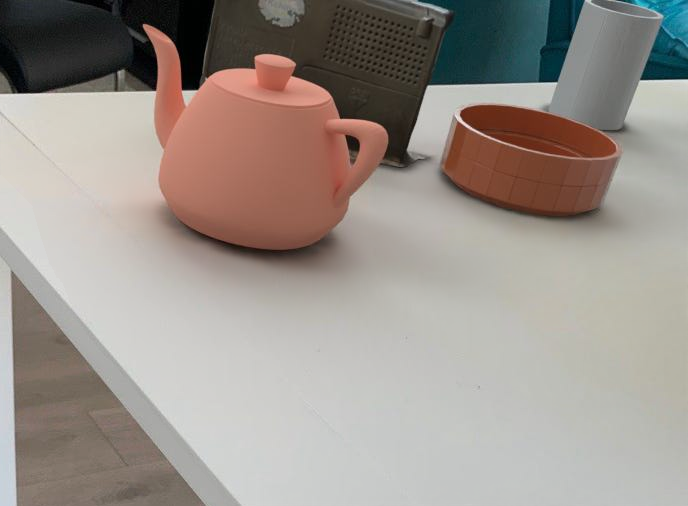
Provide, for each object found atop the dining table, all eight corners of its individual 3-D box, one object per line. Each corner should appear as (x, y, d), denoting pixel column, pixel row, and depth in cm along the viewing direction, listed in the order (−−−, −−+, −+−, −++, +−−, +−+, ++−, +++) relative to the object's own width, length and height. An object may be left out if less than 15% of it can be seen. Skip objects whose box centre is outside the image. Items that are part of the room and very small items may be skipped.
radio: (426, 158, 105) (471, -9, 95) (411, 181, 98) (457, 4, 89) (214, 104, 108) (236, -62, 99) (185, 123, 102) (206, -53, 92)
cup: (534, 109, 127) (570, -2, 119) (574, 103, 132) (610, -3, 124) (596, 133, 122) (638, 19, 114) (635, 126, 127) (677, 17, 119)
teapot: (77, 199, 83) (86, 28, 75) (180, 162, 93) (198, 9, 85) (313, 291, 75) (352, 113, 67) (397, 241, 86) (439, 80, 78)
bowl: (615, 194, 105) (638, 137, 101) (577, 235, 93) (601, 172, 90) (467, 149, 109) (484, 93, 106) (414, 182, 98) (430, 121, 94)
